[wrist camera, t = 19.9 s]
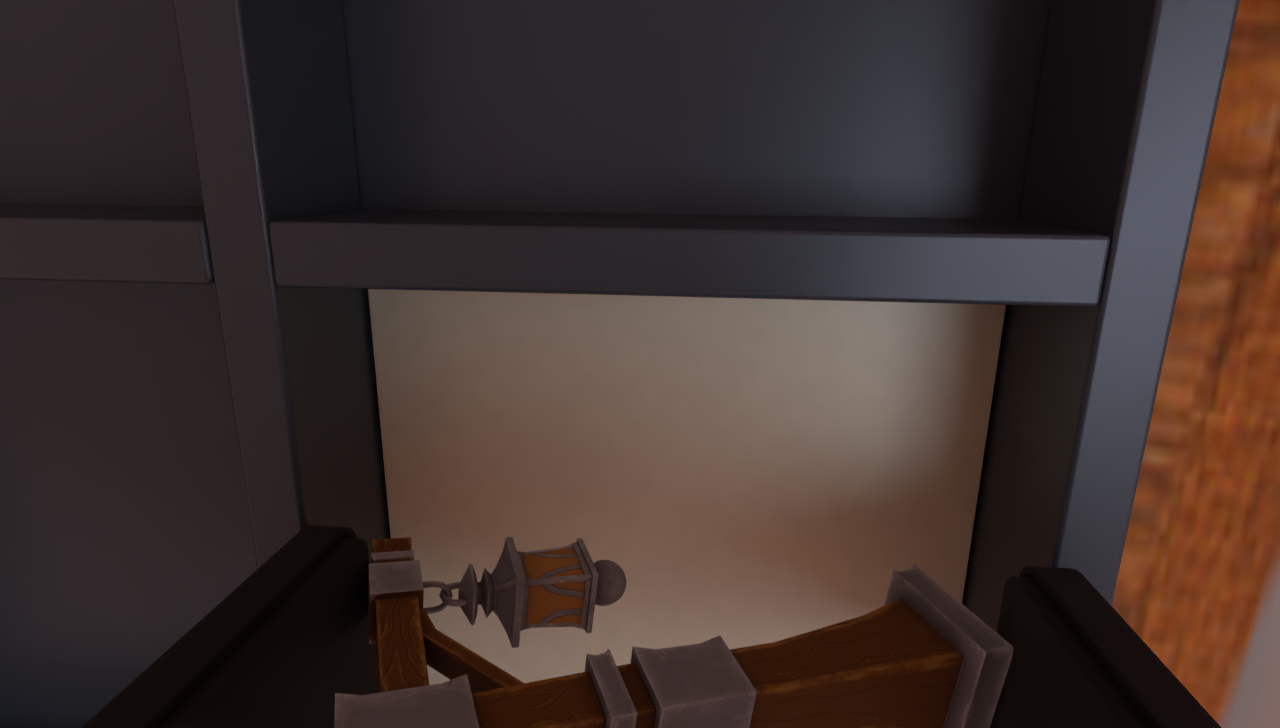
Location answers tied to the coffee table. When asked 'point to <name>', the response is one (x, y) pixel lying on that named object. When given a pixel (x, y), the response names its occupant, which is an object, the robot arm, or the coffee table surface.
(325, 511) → the grid
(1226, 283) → the coffee table surface
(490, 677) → the toy lamp post
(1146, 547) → the coffee table surface
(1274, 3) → the coffee table surface
